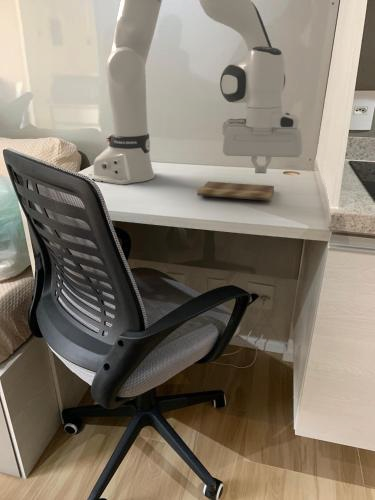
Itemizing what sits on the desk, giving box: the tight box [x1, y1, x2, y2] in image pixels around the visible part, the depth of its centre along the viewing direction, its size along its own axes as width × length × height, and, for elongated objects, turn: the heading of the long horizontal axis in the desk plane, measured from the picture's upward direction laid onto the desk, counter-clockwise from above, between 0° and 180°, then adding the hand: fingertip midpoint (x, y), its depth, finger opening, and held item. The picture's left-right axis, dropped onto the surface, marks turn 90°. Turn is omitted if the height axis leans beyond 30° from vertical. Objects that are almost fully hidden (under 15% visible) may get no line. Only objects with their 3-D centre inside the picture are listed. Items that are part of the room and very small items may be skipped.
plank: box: [196, 186, 273, 201], centre depth 110 cm, size 20×7×2 cm, turn 74°
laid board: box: [203, 181, 275, 196], centre depth 116 cm, size 20×6×2 cm, turn 74°
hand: (260, 172), depth 105 cm, fingers closed
